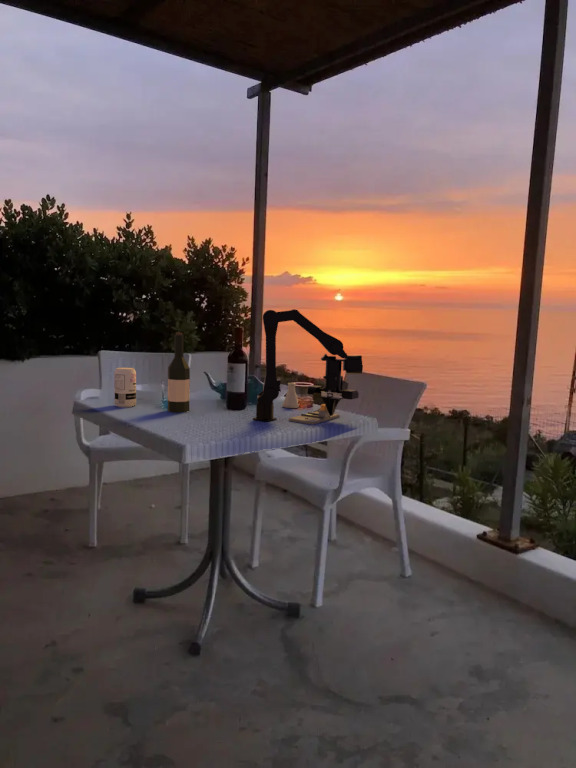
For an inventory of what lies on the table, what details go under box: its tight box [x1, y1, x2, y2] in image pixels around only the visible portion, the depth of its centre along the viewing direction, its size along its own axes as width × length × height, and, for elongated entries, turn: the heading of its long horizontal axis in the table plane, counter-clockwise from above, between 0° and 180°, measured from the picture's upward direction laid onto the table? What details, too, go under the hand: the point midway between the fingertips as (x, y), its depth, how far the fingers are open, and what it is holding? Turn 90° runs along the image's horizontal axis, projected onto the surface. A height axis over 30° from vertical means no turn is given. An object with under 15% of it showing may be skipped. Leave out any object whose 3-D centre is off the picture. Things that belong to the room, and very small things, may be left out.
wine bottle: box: [167, 332, 191, 414], centre depth 227 cm, size 8×8×30 cm
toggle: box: [319, 403, 329, 418], centre depth 219 cm, size 3×3×4 cm
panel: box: [288, 410, 340, 425], centre depth 221 cm, size 20×10×2 cm, turn 147°
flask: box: [281, 382, 300, 409], centre depth 245 cm, size 7×7×10 cm
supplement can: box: [113, 366, 137, 408], centre depth 235 cm, size 8×8×15 cm
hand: (331, 415), depth 217 cm, fingers closed
